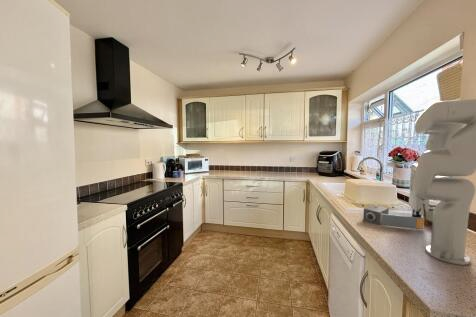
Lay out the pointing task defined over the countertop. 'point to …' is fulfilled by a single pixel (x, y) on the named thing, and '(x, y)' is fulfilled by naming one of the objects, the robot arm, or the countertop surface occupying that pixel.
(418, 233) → the countertop surface
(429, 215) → the food container
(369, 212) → the camera housing
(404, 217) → the side door
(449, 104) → the robot arm
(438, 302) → the countertop surface
